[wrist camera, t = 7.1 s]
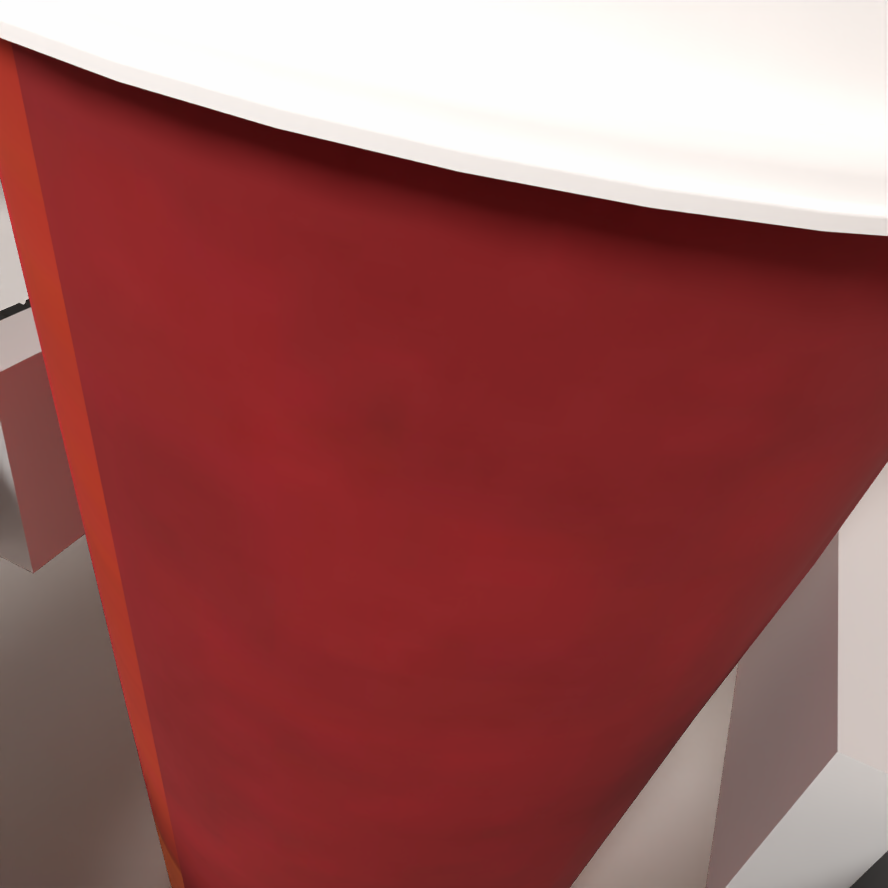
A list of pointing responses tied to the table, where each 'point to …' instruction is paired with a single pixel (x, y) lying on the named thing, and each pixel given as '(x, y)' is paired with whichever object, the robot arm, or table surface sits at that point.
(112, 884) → the table surface
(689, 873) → the table surface
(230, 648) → the paper cup
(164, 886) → the table surface
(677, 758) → the table surface
